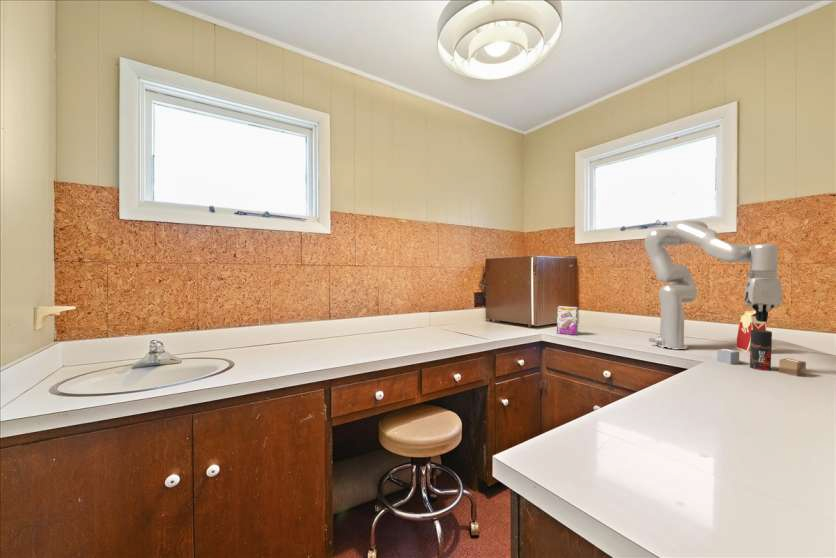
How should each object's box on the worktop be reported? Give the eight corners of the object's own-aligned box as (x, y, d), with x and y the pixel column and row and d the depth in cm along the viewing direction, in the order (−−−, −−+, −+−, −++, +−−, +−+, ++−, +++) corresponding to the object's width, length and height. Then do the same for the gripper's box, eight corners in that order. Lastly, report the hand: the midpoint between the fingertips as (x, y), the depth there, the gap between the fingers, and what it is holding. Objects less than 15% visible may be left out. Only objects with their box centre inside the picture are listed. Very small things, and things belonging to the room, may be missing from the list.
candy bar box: (556, 333, 204) (556, 306, 203) (558, 332, 208) (558, 305, 208) (576, 335, 198) (577, 308, 197) (577, 334, 202) (578, 307, 202)
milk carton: (771, 353, 156) (772, 310, 155) (747, 352, 158) (748, 310, 157) (755, 348, 165) (757, 308, 164) (733, 348, 166) (734, 307, 166)
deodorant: (764, 366, 137) (765, 330, 136) (774, 371, 131) (775, 332, 131) (746, 365, 139) (747, 329, 138) (755, 369, 133) (756, 332, 132)
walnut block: (796, 376, 125) (796, 362, 125) (779, 372, 130) (779, 359, 130) (805, 375, 127) (805, 361, 126) (787, 371, 131) (788, 358, 131)
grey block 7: (730, 364, 140) (730, 352, 140) (717, 361, 145) (717, 349, 145) (739, 363, 142) (739, 351, 142) (725, 360, 147) (725, 348, 146)
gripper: (746, 275, 132) (745, 322, 132) (794, 275, 128) (792, 323, 129) (734, 274, 139) (732, 319, 140) (779, 274, 135) (777, 320, 136)
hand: (761, 321), depth 134 cm, fingers closed
